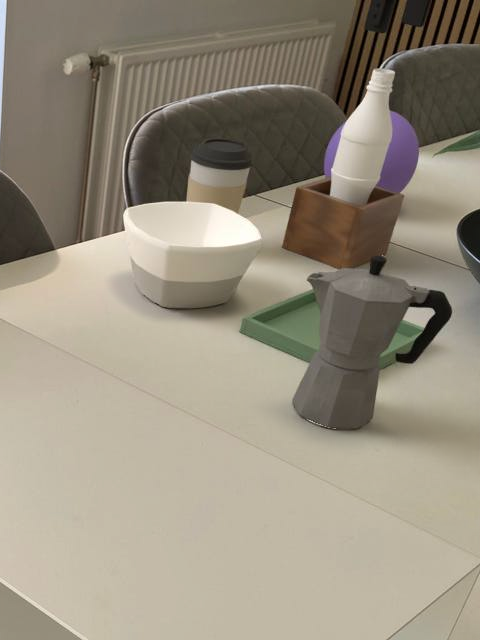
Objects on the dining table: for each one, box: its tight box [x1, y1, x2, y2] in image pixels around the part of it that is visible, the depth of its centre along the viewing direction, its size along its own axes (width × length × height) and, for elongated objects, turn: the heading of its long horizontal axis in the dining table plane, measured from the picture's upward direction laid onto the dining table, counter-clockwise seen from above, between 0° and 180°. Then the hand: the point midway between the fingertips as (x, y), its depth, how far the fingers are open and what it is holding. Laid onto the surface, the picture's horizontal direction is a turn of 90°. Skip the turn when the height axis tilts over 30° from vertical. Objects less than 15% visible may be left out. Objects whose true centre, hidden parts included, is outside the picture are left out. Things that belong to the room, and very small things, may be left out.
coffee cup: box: [185, 137, 253, 214], centre depth 148 cm, size 9×9×15 cm
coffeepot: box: [291, 256, 453, 431], centre depth 109 cm, size 15×9×18 cm, turn 69°
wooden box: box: [281, 177, 405, 270], centre depth 152 cm, size 12×12×9 cm
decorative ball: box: [323, 110, 420, 194], centre depth 168 cm, size 15×15×15 cm
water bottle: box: [330, 67, 396, 206], centre depth 147 cm, size 7×7×25 cm
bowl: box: [122, 201, 263, 309], centre depth 136 cm, size 18×18×9 cm
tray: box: [239, 288, 425, 370], centre depth 130 cm, size 18×18×2 cm
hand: (393, 28), depth 135 cm, fingers open, 9 cm apart
